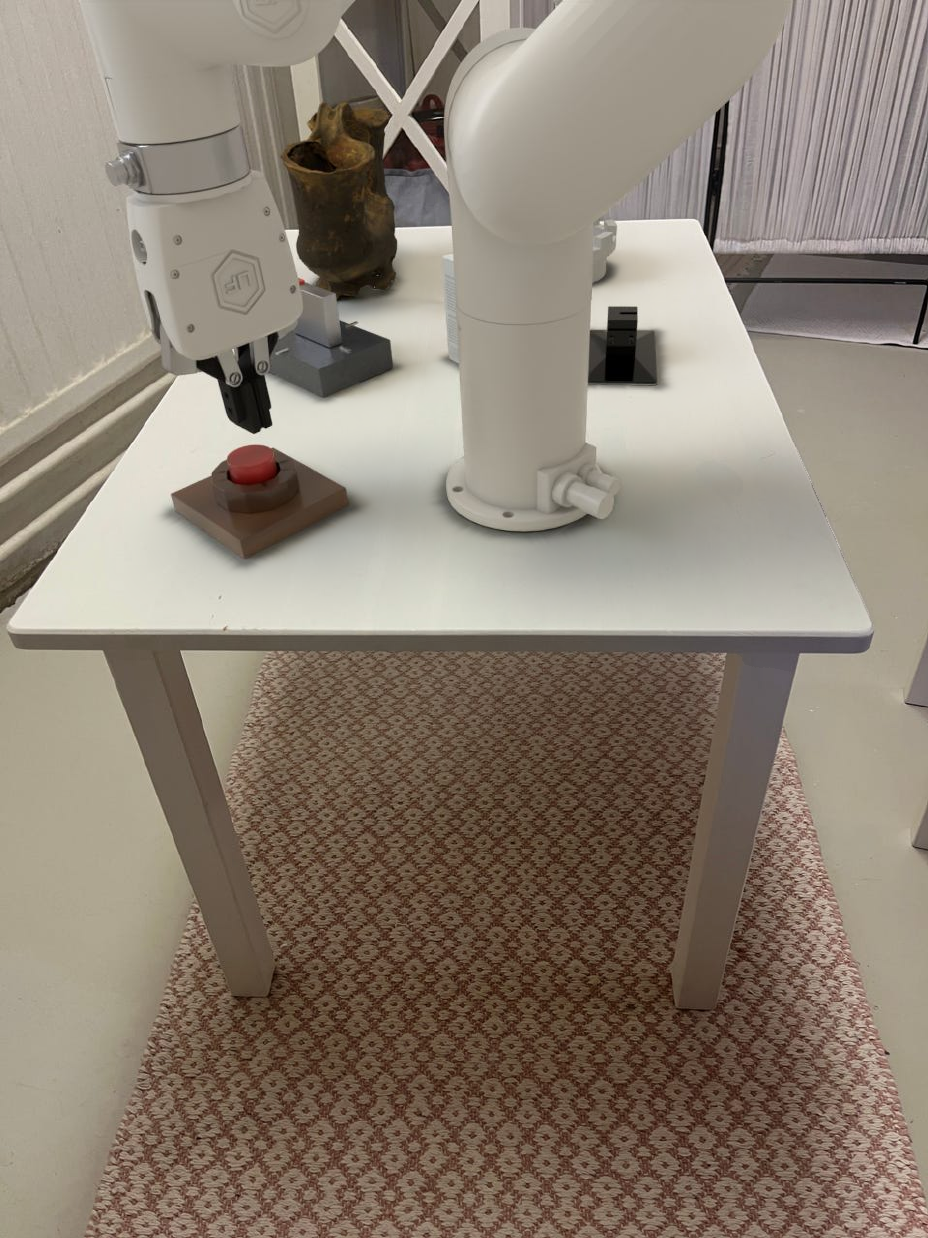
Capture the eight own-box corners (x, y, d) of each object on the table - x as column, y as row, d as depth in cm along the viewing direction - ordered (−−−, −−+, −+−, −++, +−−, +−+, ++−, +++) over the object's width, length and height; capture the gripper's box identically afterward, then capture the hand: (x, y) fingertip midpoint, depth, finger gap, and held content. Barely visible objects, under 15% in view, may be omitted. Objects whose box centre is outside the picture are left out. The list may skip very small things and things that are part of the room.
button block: (348, 505, 74) (343, 467, 72) (244, 560, 69) (235, 520, 67) (276, 464, 80) (269, 427, 78) (175, 511, 75) (164, 474, 73)
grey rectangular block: (342, 343, 92) (335, 290, 89) (329, 348, 91) (322, 295, 88) (306, 327, 96) (298, 276, 92) (294, 332, 95) (285, 281, 91)
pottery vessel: (329, 250, 124) (306, 81, 111) (409, 248, 123) (396, 77, 110) (291, 323, 105) (258, 128, 92) (386, 321, 104) (366, 124, 91)
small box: (507, 337, 99) (505, 235, 92) (541, 353, 95) (542, 248, 88) (446, 359, 95) (439, 254, 89) (479, 376, 92) (474, 269, 85)
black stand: (656, 386, 88) (660, 339, 85) (579, 385, 89) (581, 338, 86) (654, 332, 98) (657, 289, 95) (584, 332, 99) (586, 289, 96)
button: (286, 473, 73) (282, 454, 71) (248, 492, 71) (243, 472, 70) (260, 458, 75) (256, 439, 74) (222, 476, 73) (217, 456, 72)
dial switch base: (398, 365, 95) (395, 336, 93) (318, 400, 89) (313, 369, 87) (326, 336, 101) (321, 307, 99) (248, 366, 96) (242, 337, 94)
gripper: (108, 202, 52) (193, 482, 64) (318, 142, 60) (360, 402, 72) (51, 183, 57) (140, 448, 68) (252, 130, 64) (302, 377, 76)
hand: (252, 424), depth 70 cm, fingers closed
